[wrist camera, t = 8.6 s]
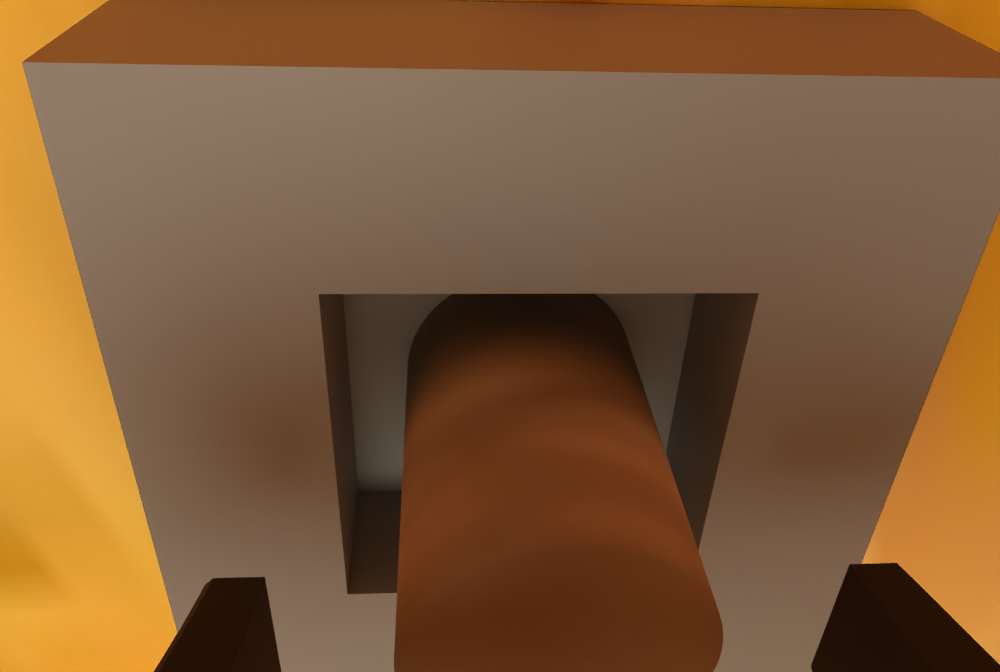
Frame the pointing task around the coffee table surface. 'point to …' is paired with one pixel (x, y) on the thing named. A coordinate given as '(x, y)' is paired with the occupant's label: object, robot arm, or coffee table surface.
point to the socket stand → (515, 265)
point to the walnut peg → (541, 500)
